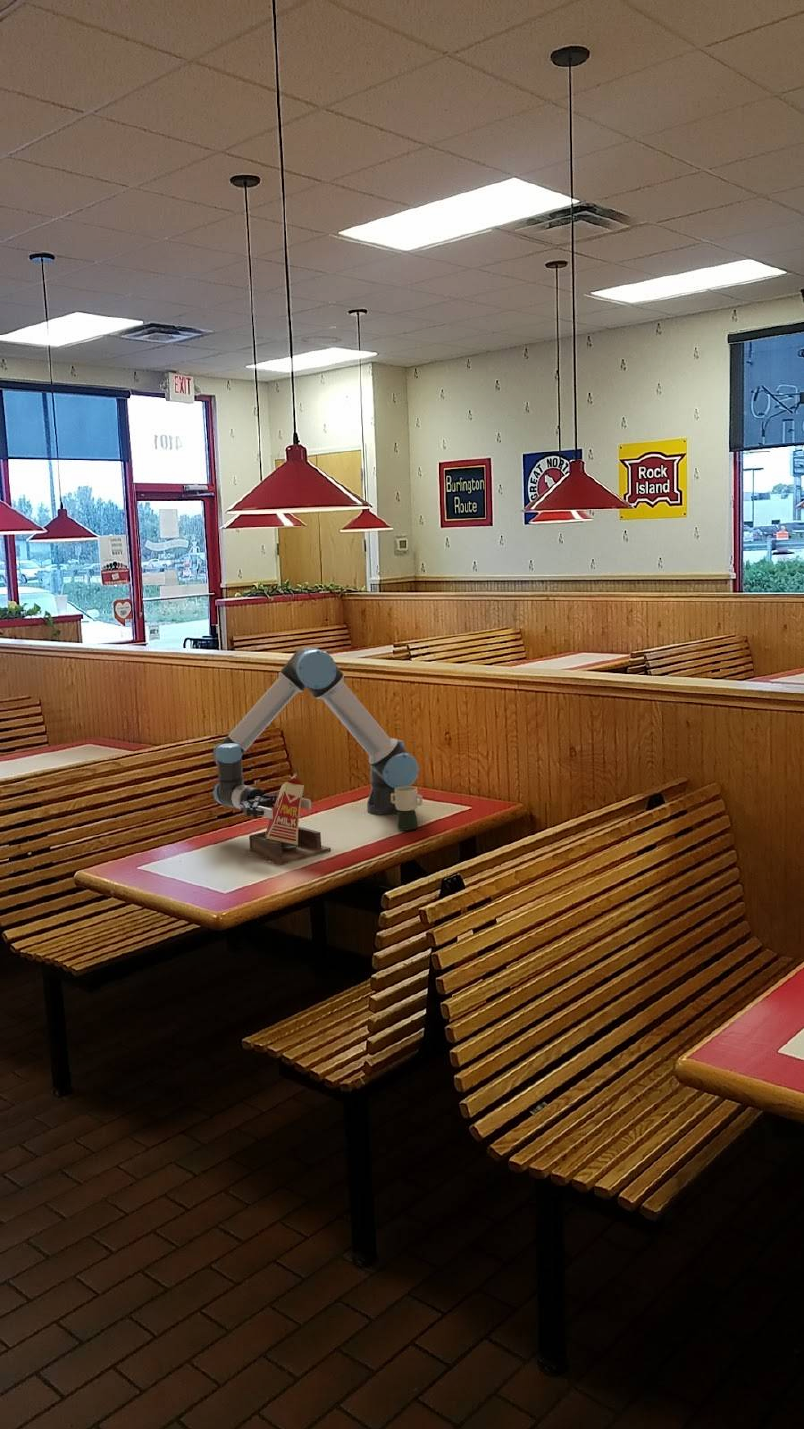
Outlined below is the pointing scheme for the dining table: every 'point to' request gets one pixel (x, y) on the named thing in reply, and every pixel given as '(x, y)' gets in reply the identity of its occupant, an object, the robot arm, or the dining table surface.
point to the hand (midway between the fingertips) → (291, 809)
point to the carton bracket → (286, 847)
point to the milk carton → (286, 813)
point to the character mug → (406, 806)
